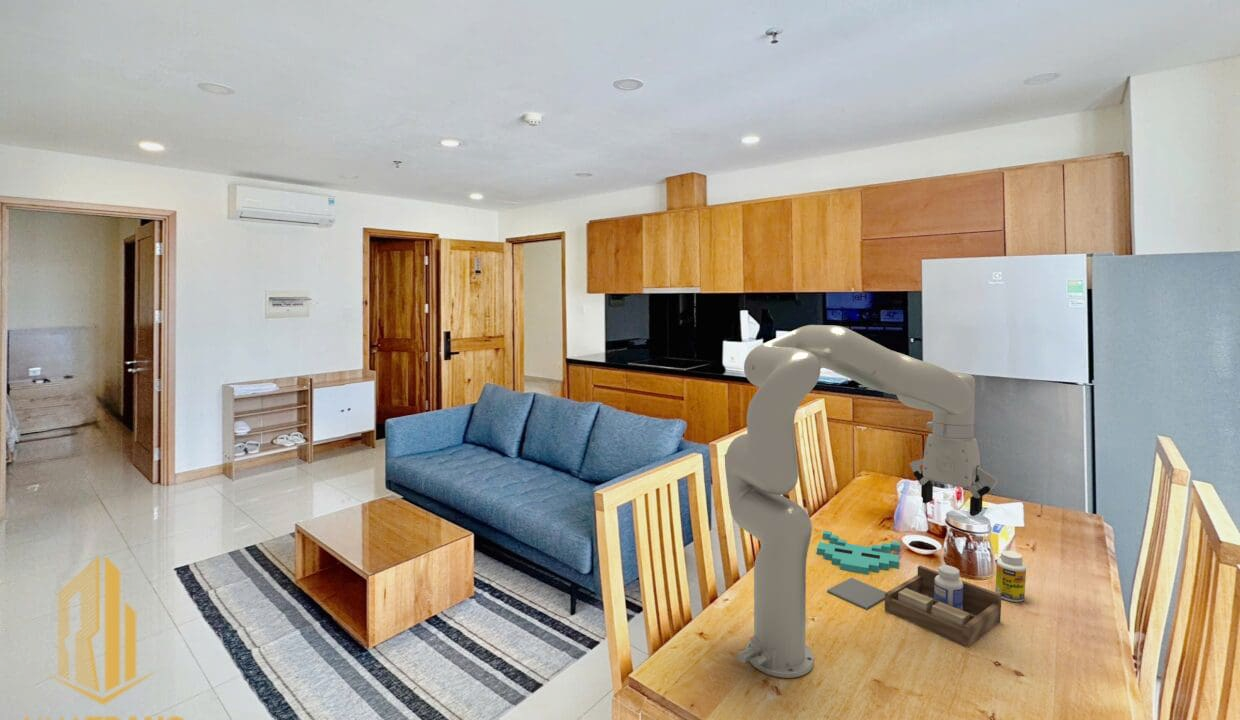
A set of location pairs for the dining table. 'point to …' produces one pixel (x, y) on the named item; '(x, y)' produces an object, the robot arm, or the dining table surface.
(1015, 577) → the supplement bottle
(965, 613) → the offcut
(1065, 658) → the dining table surface
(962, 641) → the walnut rack
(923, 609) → the offcut
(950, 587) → the pill bottle
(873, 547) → the alien figure
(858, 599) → the rubber coaster
